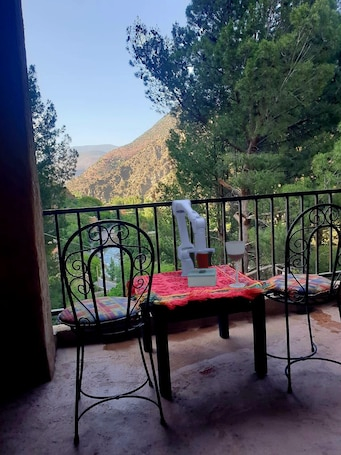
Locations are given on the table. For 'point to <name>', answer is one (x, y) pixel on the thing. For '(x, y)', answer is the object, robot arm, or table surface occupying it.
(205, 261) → the plastic cup
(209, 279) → the coin box
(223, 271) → the table surface
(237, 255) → the wineglass
